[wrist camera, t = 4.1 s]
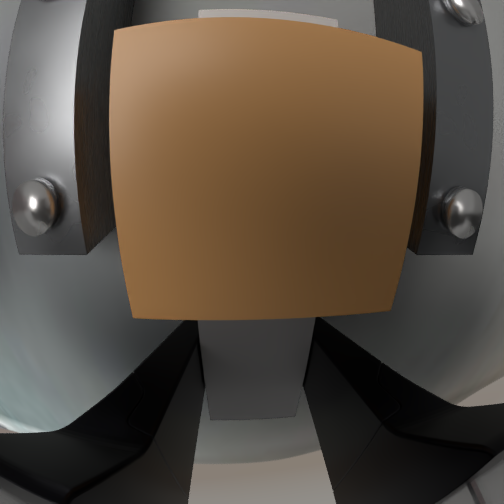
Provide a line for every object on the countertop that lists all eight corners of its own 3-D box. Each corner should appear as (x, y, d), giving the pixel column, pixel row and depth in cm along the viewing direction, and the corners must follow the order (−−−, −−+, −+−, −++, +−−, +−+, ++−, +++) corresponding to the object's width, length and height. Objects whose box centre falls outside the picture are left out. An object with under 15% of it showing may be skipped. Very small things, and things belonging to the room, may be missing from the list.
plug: (303, 359, 11) (331, 453, 7) (191, 362, 11) (180, 461, 7) (331, 64, 7) (418, 19, 3) (174, 59, 7) (119, -5, 2)
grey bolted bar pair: (425, 12, 6) (486, -11, 3) (418, 220, 9) (481, 260, 6) (78, -5, 5) (26, -41, 2) (71, 217, 8) (10, 260, 5)
